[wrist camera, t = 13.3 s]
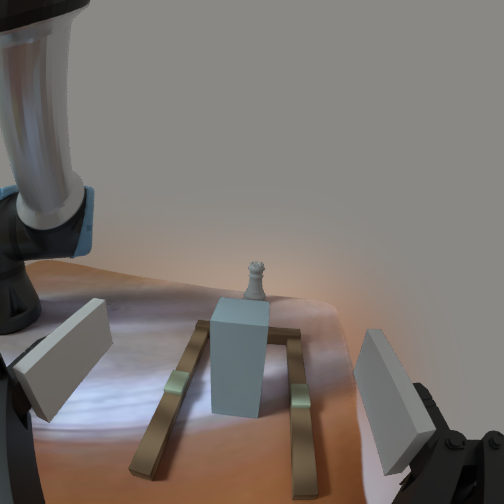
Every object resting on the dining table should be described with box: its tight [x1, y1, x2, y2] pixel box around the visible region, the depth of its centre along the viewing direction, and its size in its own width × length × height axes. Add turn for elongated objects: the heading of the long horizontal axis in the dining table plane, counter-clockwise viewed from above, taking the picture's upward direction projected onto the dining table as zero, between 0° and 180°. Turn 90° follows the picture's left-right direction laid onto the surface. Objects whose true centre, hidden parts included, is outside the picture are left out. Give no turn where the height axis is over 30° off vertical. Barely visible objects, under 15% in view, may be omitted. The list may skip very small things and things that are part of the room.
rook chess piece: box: [243, 262, 266, 301], centre depth 55 cm, size 4×4×8 cm
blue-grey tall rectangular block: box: [210, 297, 270, 418], centre depth 27 cm, size 5×5×12 cm
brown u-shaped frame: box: [128, 320, 318, 500], centre depth 30 cm, size 28×16×2 cm, turn 176°
